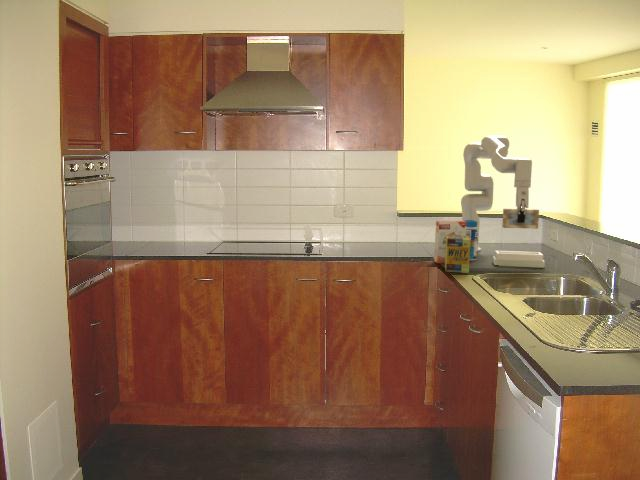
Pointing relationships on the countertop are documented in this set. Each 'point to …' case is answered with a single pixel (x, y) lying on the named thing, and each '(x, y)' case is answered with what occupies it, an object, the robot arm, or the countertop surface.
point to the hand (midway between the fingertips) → (520, 221)
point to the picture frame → (512, 218)
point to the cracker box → (440, 236)
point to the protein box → (457, 253)
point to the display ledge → (519, 259)
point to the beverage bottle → (472, 238)
